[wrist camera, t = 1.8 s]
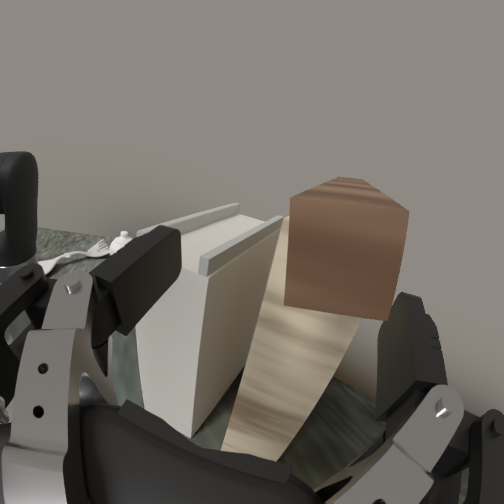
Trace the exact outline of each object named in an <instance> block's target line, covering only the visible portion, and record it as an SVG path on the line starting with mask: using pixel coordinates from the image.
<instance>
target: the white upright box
mask: <svg viewBox="0 0 504 504" xmlns="http://www.w3.org/2000/svg"><path fill="white" fill-rule="evenodd" d="M239 207H240V204H238V203H232V204H229V205H225V206H221V207H217V208H214V209H210V210H207V211H203V212H199V213H196V214H192V215H189V216H185V217H182V218H178V219H175V220H171V221H168V222H165V223H161V224H158V225H164V226H168V227H172V228H175V229H178V230H179V231H180V233H181V252H182V268H181V272H180V275H179V277H178V279H177V280H176V281H175V282H174V283H173V284H172V285H171V287H170V288H169V289H168V290H167V291H166V292H165V293H164V294H163V295H162V296H161V298H160V299H159V300H158V301H157V302H156V303H155V304H154V305H153V306H152V308H151V309H150V310H149V311H148V312H147V313H146V314H145V315H144V317H143V318H142V319H141V320H140V321H139V322H138V323H137V324H136V338H137V351H138V361H139V371H140V379H141V387H142V394H143V401H144V407H145V410H147V411H149V412H151V413H152V414H154V415H156V416H158V417H160V418H162V419H163V420H164V421H166V422H167V423H168V424H169V425H170V426H172V427H173V428H174V429H175V430H177V431H179V432H180V433H182V434H184V435H186V436H187V437H189V438H192V436H193V435H194V434H195V433H196V431H197V430H198V429H199V427H200V426H201V425H202V424H203V422H204V421H205V420H206V418H207V417H208V416H209V414H210V413H211V412H212V410H213V409H214V408H215V406H216V405H217V403H218V402H219V401H220V399H221V398H222V397H223V395H224V394H225V392H226V391H227V390H228V388H229V387H230V385H231V384H232V383H233V381H234V380H235V378H236V377H237V376H238V374H239V373H240V371H241V370H242V368H243V367H244V366H245V364H246V361H247V358H248V354H249V350H250V347H251V343H252V339H253V336H254V332H255V328H256V324H257V321H258V317H259V313H260V309H261V305H262V302H263V298H264V294H265V290H266V286H267V282H268V278H269V274H270V270H271V267H272V263H273V259H274V255H275V251H276V246H277V242H278V238H279V234H280V230H281V226H282V222H283V218H284V217H283V216H279V215H278V216H276V217H274V218H272V219H270V220H268V221H266V222H264V221H261V220H258V219H254V218H251V217H248V216H244V215H241V214H238V213H239ZM158 225H155V226H152V227H149V228H145V229H142V230H139V231H137V237H139V236H141V235H144V234H147V233H149V232H150V231H151V230H153V229H154V228H155V227H157V226H158Z"/></svg>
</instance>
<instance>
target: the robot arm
mask: <svg viewBox="0 0 504 504" xmlns="http://www.w3.org/2000/svg"><path fill="white" fill-rule="evenodd" d="M37 198H38V168H37V163H36V160H35V157H34V156H33V155H32V154H31V153H29V152H4V153H0V214H5V230H4V231H2V232H0V423H1V424H0V504H458V500H459V493H460V485H461V474H462V470H464V469H466V468H468V467H469V479H468V489H467V496H466V499H465V501H464V503H463V504H504V415H503V414H502V413H501V412H500V411H498V410H495V409H492V410H489V411H487V412H486V413H485V414H484V415H482V416H481V417H478V416H476V415H473V414H471V413H469V412H467V411H465V410H464V405H463V402H462V399H461V397H460V396H459V394H458V393H457V392H456V391H455V390H454V389H453V388H451V387H449V386H448V384H447V377H446V371H445V365H444V359H443V355H442V351H441V345H440V341H439V335H438V331H437V327H436V325H435V323H434V322H433V320H432V319H431V317H430V315H428V314H425V310H424V306H423V302H422V299H421V297H418V296H415V295H411V294H407V293H404V292H401V293H400V294H399V295H398V296H397V298H396V300H395V302H394V303H393V305H392V307H391V310H390V314H389V317H388V321H383V323H382V325H381V328H380V330H379V334H378V364H377V366H378V368H377V394H376V409H375V420H376V421H383V422H386V429H385V430H384V431H382V432H381V433H380V434H379V435H378V436H377V437H376V438H375V439H374V441H373V442H372V443H371V444H370V445H369V446H368V447H366V448H365V449H364V450H363V451H362V452H361V453H360V454H359V455H358V456H357V457H356V458H355V459H354V460H353V461H352V462H350V463H349V464H348V465H347V466H346V467H345V468H343V469H342V470H341V471H340V472H338V473H337V474H335V475H334V476H332V477H331V478H329V479H328V480H326V481H325V482H324V483H322V484H321V485H320V486H318V487H317V488H316V489H314V490H312V489H311V488H310V487H309V486H308V485H307V484H305V483H304V482H303V481H301V480H300V479H298V478H297V477H295V476H293V475H291V474H289V473H290V470H291V467H292V465H288V464H283V463H279V462H275V461H272V460H268V459H264V458H261V457H257V456H254V455H251V454H247V453H236V452H228V451H220V450H213V449H206V448H201V447H199V446H196V445H195V444H193V443H192V442H191V441H189V440H188V439H187V438H185V437H184V436H183V435H182V434H180V433H179V432H178V431H177V430H175V429H174V428H173V427H172V426H170V425H169V424H168V423H167V422H166V421H164V420H163V419H162V418H160V417H158V416H156V415H154V414H152V413H151V412H149V411H147V410H145V409H143V408H141V407H140V406H138V405H136V404H134V403H133V402H131V401H129V400H128V399H127V400H126V401H125V403H124V404H123V405H122V407H121V406H118V403H117V399H116V395H115V392H114V388H113V382H112V336H111V334H112V333H113V332H114V331H115V330H116V331H118V332H120V333H122V334H123V335H125V336H127V335H128V334H129V333H130V331H131V330H132V329H133V328H134V327H135V326H136V324H137V323H138V322H139V321H140V320H141V319H142V318H143V317H144V315H145V314H146V313H147V312H148V311H149V310H150V309H151V308H152V306H153V305H154V304H155V303H156V302H157V301H158V300H159V299H160V298H161V296H162V295H163V294H164V293H165V292H166V291H167V290H168V289H169V288H170V287H171V285H172V284H173V283H174V282H175V281H176V280H177V279H178V277H179V275H180V272H181V268H182V252H181V233H180V231H179V230H178V229H175V228H172V227H168V226H164V225H158V226H157V227H155V228H154V229H153V230H151V231H150V232H149V233H147V234H144V235H141V236H139V237H136V238H134V239H132V240H131V241H130V242H128V243H127V244H125V245H124V247H121V248H120V249H119V250H118V251H117V252H116V253H114V254H112V255H111V256H110V257H108V258H107V259H106V260H105V261H103V262H102V263H101V264H99V265H98V266H97V267H96V268H94V269H93V270H92V271H91V272H89V273H87V272H84V271H73V272H70V273H67V274H65V275H63V276H62V277H61V278H59V279H58V280H56V279H50V278H46V276H45V273H44V270H43V267H42V266H41V265H40V264H38V257H37V248H36V237H37ZM7 327H9V330H10V333H11V336H12V338H13V342H12V343H11V344H10V345H8V344H7V342H6V341H5V337H4V334H5V330H6V328H7ZM13 398H14V403H13V412H12V422H11V423H8V422H9V414H8V412H7V411H6V410H5V409H6V407H7V406H8V404H9V403H10V402H11V400H12V399H13Z"/></svg>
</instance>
